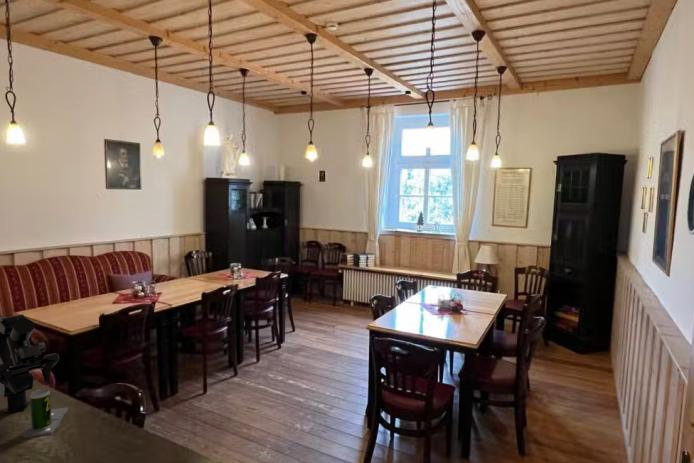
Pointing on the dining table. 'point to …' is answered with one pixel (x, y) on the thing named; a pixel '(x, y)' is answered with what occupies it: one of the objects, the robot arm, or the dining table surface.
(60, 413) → the one-dot tile
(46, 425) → the beer can
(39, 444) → the dining table surface
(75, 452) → the dining table surface
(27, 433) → the three-dot tile
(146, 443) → the dining table surface
